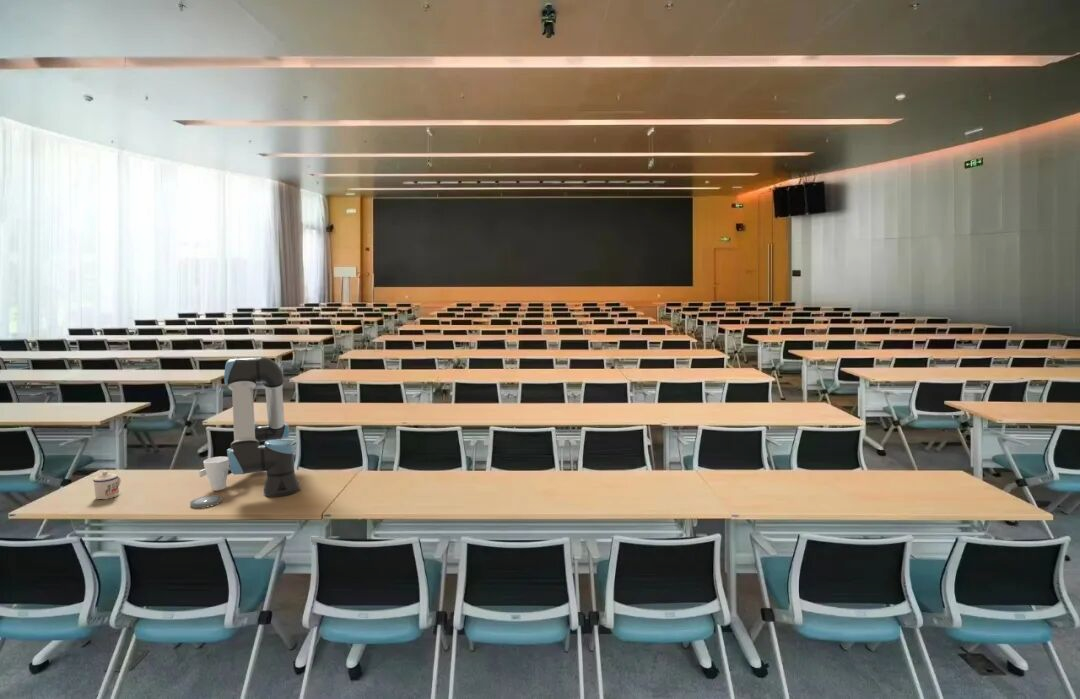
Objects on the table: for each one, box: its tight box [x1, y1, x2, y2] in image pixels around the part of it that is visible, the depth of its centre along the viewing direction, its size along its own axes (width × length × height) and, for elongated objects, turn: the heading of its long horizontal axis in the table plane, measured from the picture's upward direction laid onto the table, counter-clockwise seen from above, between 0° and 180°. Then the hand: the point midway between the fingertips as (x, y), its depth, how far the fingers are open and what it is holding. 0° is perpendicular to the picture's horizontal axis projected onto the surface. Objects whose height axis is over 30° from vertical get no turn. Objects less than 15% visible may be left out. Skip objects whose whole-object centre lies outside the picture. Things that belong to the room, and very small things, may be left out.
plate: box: [189, 495, 223, 509], centre depth 268 cm, size 12×12×1 cm
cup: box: [203, 456, 229, 492], centre depth 283 cm, size 10×10×14 cm
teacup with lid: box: [92, 470, 122, 500], centre depth 280 cm, size 12×9×12 cm
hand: (211, 474), depth 279 cm, fingers closed on cup, 10 cm apart
